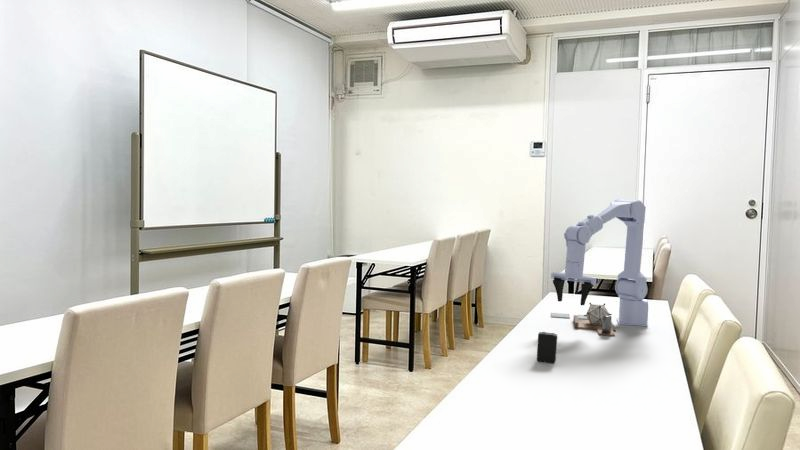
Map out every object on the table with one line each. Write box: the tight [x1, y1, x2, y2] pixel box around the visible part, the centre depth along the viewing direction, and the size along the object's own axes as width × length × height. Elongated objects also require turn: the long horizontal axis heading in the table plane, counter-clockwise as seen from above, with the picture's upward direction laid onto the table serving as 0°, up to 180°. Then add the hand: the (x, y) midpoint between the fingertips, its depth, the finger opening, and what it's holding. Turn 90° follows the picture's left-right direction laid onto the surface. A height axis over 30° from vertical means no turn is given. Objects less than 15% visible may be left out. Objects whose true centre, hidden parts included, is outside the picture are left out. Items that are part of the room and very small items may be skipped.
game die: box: [583, 302, 613, 325], centre depth 208 cm, size 9×8×10 cm
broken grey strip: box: [550, 312, 588, 320], centre depth 222 cm, size 16×6×1 cm, turn 77°
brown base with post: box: [572, 314, 617, 337], centre depth 205 cm, size 13×19×6 cm
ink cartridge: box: [536, 331, 558, 365], centre depth 167 cm, size 5×2×8 cm, turn 69°
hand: (571, 303), depth 199 cm, fingers open, 7 cm apart
